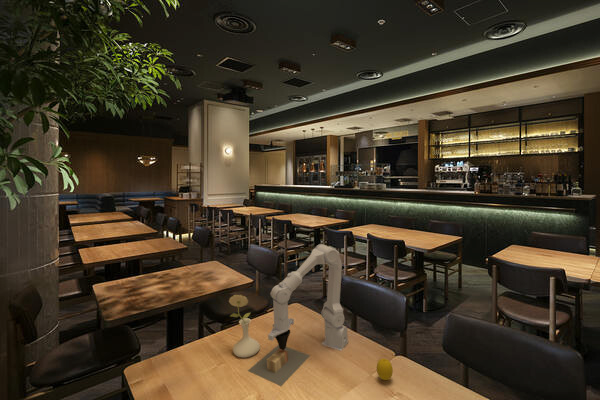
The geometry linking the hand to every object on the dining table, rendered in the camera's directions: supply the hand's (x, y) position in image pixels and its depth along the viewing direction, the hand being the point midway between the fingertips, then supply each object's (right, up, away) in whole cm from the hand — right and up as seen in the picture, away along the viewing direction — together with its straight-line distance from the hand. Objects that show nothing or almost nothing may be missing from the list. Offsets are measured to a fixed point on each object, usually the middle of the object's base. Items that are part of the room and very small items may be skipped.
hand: (282, 348), depth 117 cm
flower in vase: (-16, -6, +8) cm, 19 cm away
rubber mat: (-1, -6, -1) cm, 6 cm away
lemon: (+37, -5, -12) cm, 40 cm away
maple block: (0, -3, +1) cm, 3 cm away
